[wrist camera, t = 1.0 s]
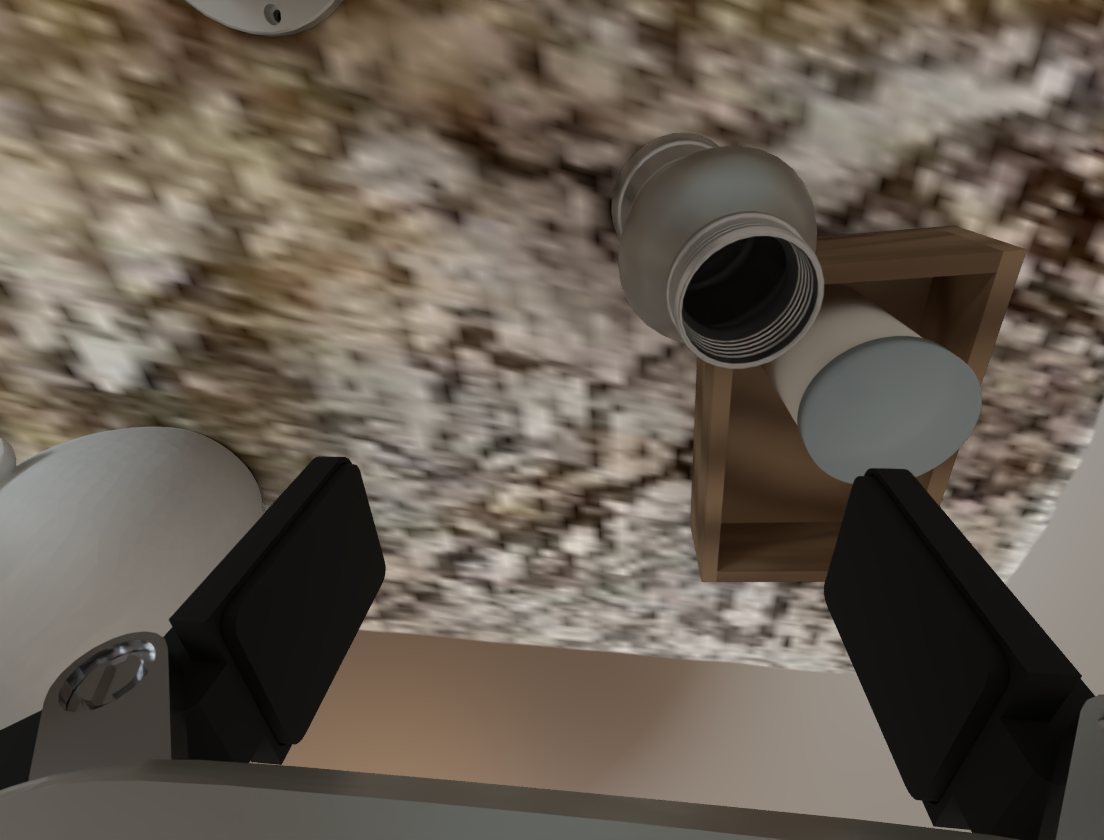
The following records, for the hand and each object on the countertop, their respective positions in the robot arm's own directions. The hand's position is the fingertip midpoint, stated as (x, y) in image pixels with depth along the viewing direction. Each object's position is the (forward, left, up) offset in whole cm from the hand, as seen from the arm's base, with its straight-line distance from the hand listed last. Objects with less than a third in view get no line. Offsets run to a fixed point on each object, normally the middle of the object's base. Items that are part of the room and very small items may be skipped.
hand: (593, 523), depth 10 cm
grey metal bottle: (-2, +4, -26) cm, 26 cm away
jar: (+7, +13, -25) cm, 28 cm away
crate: (+12, +13, -26) cm, 31 cm away
